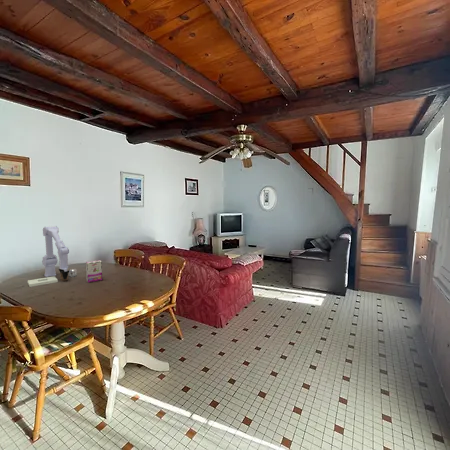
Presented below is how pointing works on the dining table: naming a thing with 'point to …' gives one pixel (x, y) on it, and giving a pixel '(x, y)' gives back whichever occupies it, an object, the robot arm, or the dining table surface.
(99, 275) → the candy bar box
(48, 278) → the socket plate
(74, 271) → the grey round peg
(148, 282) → the dining table surface
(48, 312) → the dining table surface
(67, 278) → the walnut bar
